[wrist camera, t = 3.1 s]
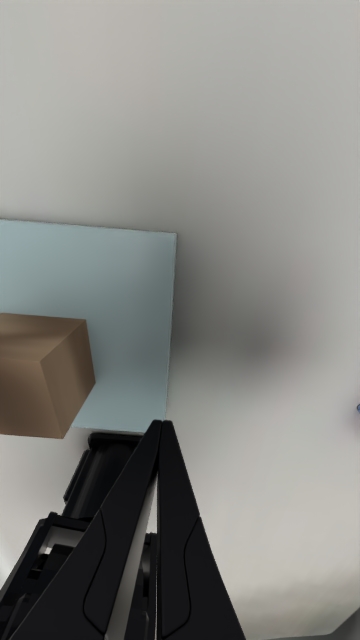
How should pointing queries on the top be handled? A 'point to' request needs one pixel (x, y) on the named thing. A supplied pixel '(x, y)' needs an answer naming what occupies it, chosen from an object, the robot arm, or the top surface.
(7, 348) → the walnut block
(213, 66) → the top surface
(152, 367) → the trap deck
